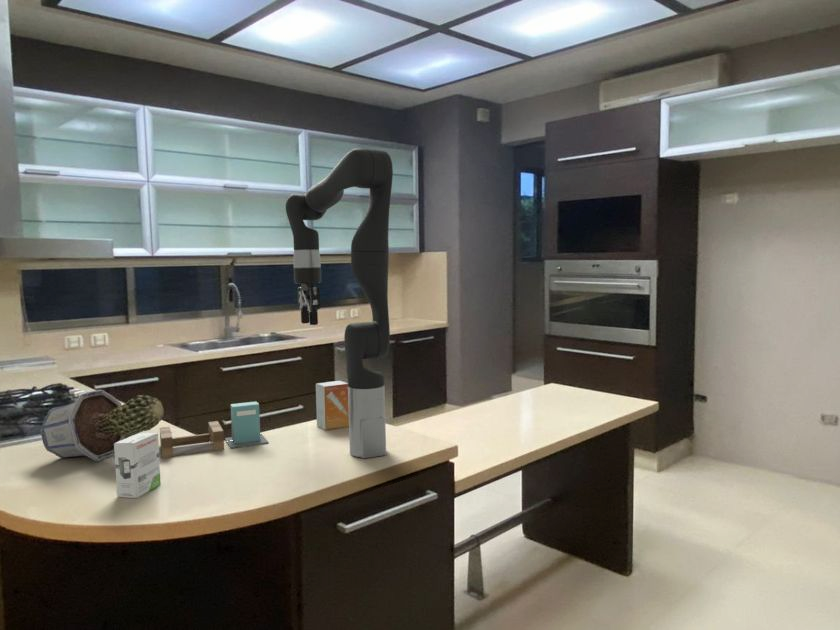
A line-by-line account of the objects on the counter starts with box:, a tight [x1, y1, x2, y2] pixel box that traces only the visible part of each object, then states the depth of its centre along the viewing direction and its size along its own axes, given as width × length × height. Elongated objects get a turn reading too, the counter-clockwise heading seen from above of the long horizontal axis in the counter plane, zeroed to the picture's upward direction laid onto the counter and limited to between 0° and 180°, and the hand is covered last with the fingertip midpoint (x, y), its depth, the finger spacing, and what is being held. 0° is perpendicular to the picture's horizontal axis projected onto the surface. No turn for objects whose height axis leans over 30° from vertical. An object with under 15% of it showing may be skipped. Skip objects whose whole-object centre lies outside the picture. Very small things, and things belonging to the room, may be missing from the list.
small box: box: [315, 380, 349, 431], centre depth 183 cm, size 8×6×13 cm
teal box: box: [230, 401, 261, 444], centre depth 169 cm, size 4×7×10 cm, turn 115°
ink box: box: [114, 432, 161, 499], centre depth 132 cm, size 9×5×12 cm, turn 169°
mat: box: [224, 433, 269, 449], centre depth 169 cm, size 10×10×1 cm
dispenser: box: [159, 420, 225, 459], centre depth 164 cm, size 12×15×5 cm
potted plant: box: [40, 389, 165, 462], centre depth 156 cm, size 18×18×30 cm
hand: (309, 324), depth 174 cm, fingers open, 8 cm apart
